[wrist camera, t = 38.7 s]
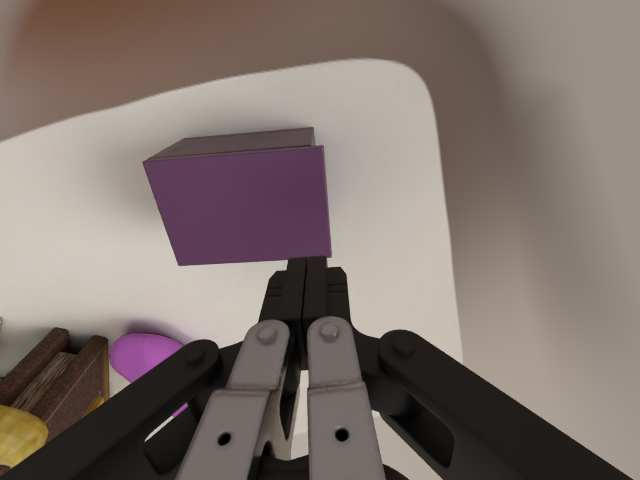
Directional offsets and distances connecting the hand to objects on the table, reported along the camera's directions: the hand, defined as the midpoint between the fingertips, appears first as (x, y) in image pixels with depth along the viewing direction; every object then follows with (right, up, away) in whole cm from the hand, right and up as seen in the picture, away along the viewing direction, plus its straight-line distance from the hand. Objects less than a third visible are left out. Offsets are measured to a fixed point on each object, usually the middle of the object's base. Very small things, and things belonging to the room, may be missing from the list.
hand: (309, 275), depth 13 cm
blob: (-18, -13, +28) cm, 36 cm away
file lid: (-5, +4, +11) cm, 13 cm away
